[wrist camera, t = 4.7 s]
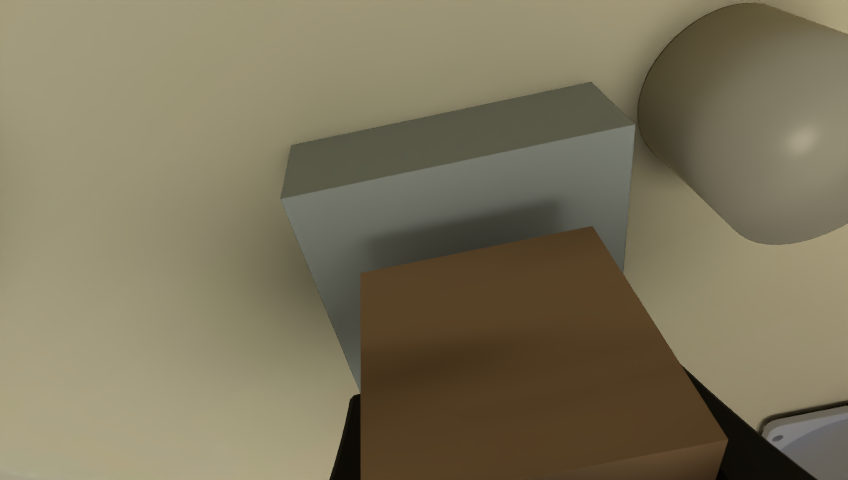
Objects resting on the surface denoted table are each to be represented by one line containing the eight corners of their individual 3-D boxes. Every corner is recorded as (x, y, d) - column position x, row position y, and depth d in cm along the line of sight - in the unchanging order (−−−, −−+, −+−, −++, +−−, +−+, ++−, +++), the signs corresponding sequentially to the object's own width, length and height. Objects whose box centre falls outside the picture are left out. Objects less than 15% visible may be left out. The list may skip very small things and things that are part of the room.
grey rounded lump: (780, 143, 15) (895, 220, 12) (633, 178, 15) (709, 262, 12) (820, -17, 13) (981, 28, 9) (643, 26, 13) (742, 85, 9)
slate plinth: (582, 292, 19) (616, 357, 16) (364, 337, 19) (366, 408, 16) (586, 77, 14) (635, 124, 11) (292, 139, 14) (279, 199, 11)
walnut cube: (588, 374, 14) (682, 584, 10) (406, 410, 14) (425, 631, 10) (592, 225, 11) (728, 439, 7) (360, 273, 11) (361, 509, 7)
